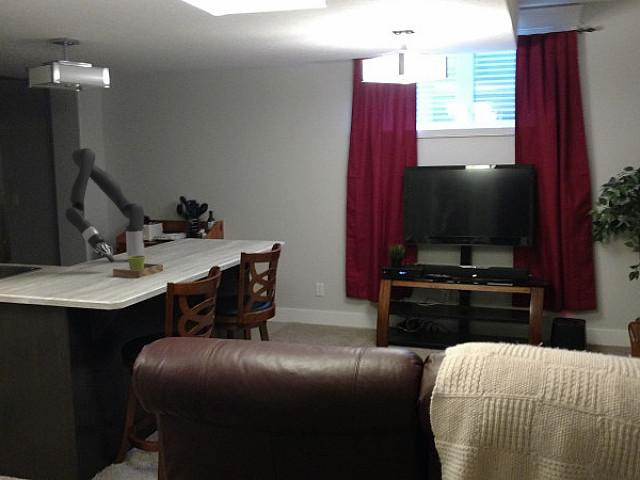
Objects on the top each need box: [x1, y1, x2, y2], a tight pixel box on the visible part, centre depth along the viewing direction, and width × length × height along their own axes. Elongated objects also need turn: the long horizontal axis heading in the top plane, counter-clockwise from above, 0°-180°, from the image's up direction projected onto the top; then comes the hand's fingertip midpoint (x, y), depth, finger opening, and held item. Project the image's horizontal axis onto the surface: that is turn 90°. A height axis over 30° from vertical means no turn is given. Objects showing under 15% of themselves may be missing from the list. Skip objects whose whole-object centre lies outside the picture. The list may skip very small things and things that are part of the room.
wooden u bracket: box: [112, 262, 164, 279], centre depth 313 cm, size 20×15×4 cm
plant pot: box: [126, 255, 147, 270], centre depth 314 cm, size 9×9×9 cm
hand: (113, 261), depth 318 cm, fingers closed
